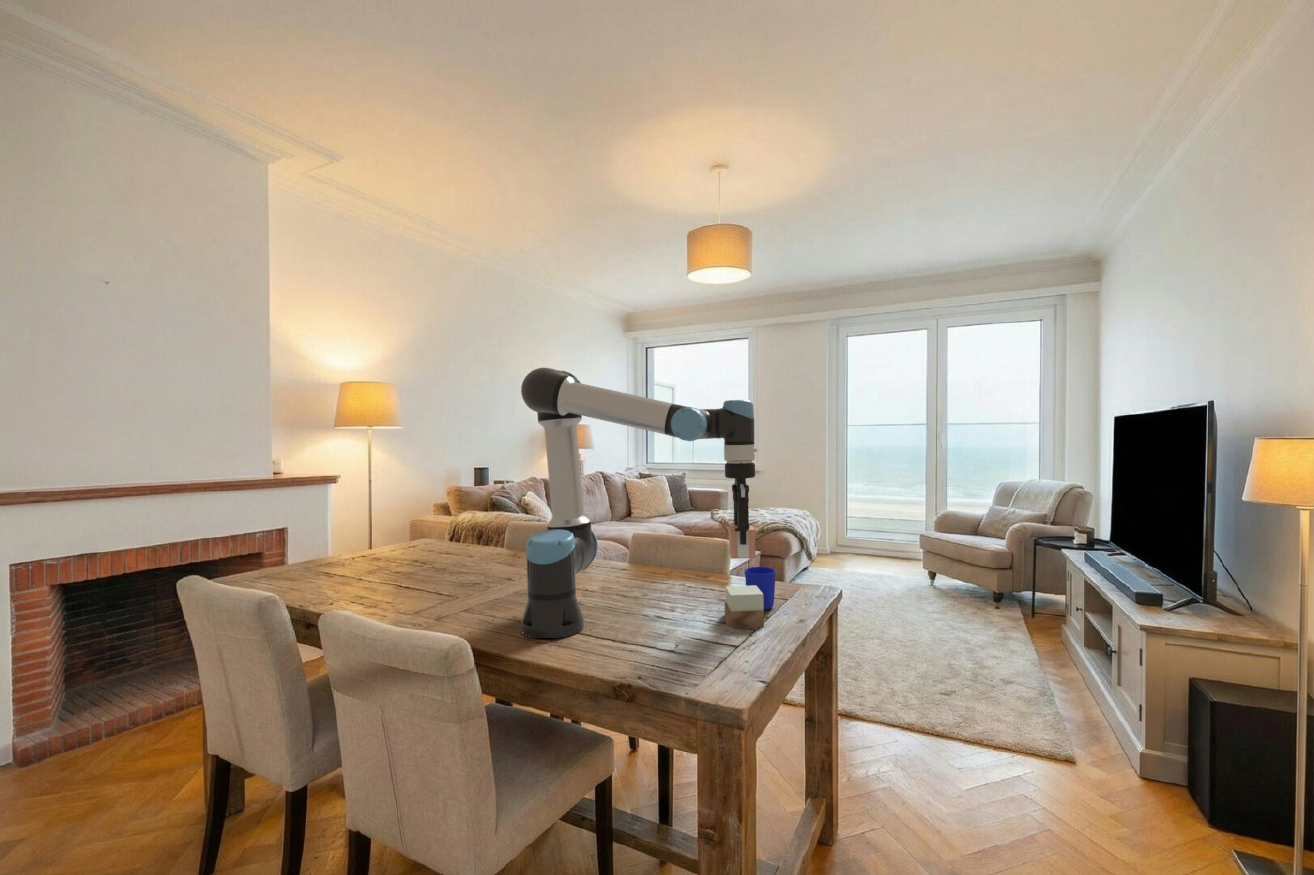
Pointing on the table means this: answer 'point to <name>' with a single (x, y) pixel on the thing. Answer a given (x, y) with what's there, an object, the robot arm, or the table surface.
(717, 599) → the table surface
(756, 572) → the mug
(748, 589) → the block
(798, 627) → the table surface
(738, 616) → the riser lower
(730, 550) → the clay block
